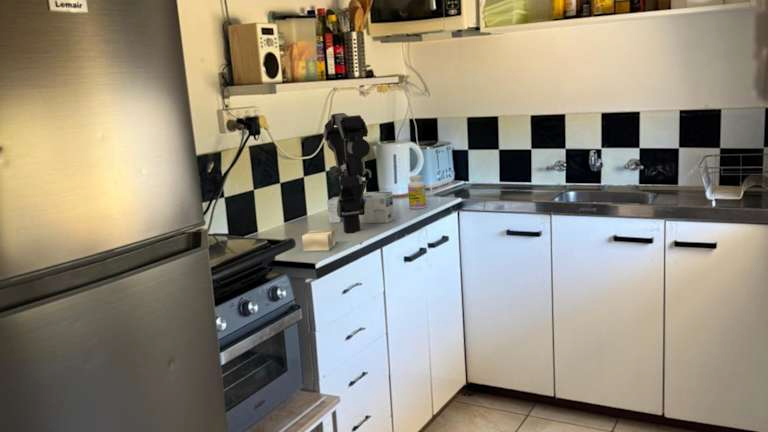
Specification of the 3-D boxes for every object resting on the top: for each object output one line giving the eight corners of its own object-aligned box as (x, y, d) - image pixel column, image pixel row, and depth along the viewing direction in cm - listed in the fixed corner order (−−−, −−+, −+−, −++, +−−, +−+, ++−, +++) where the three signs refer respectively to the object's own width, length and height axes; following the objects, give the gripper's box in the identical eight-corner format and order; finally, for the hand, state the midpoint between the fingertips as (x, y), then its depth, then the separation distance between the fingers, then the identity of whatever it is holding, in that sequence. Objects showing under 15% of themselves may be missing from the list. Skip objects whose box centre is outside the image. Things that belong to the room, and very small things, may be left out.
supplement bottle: (406, 209, 285) (404, 177, 282) (413, 206, 290) (411, 175, 288) (421, 209, 281) (419, 177, 279) (428, 206, 287) (426, 174, 285)
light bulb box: (395, 219, 265) (392, 190, 263) (387, 223, 259) (385, 193, 257) (369, 219, 269) (366, 191, 267) (361, 223, 263) (358, 194, 261)
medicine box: (340, 222, 268) (338, 199, 266) (328, 223, 269) (326, 200, 267) (345, 218, 276) (343, 196, 274) (334, 219, 276) (331, 197, 275)
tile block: (309, 230, 225) (302, 236, 217) (334, 229, 223) (327, 235, 216) (311, 246, 226) (303, 252, 218) (335, 245, 224) (329, 251, 217)
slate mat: (308, 245, 232) (307, 242, 232) (349, 243, 230) (349, 240, 230) (292, 256, 217) (292, 254, 217) (337, 255, 214) (336, 252, 214)
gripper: (337, 154, 239) (341, 200, 241) (321, 160, 221) (326, 210, 223) (369, 151, 237) (373, 198, 239) (356, 158, 219) (361, 208, 221)
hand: (358, 203), depth 231 cm, fingers closed
